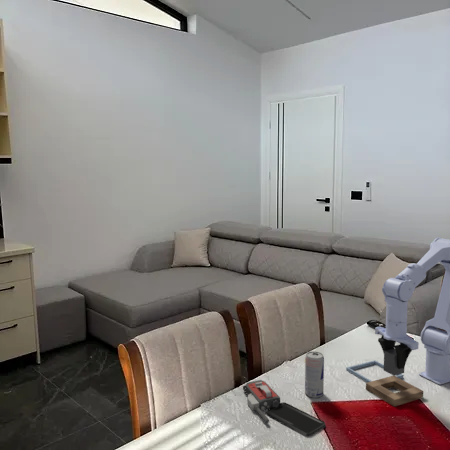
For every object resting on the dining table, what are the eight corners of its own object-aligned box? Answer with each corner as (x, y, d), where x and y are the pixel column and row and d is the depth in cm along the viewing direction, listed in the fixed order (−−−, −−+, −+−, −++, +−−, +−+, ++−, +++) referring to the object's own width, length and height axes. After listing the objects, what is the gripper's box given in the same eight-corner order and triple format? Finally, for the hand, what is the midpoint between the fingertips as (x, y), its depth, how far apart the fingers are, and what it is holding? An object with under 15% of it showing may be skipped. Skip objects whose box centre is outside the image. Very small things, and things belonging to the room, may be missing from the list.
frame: (374, 363, 154) (374, 360, 154) (403, 377, 143) (403, 374, 143) (346, 370, 149) (346, 367, 149) (373, 386, 138) (373, 383, 137)
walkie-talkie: (236, 392, 136) (264, 427, 117) (236, 378, 135) (264, 411, 116) (263, 387, 138) (294, 420, 120) (263, 373, 138) (294, 405, 119)
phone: (283, 401, 128) (327, 423, 117) (283, 405, 128) (327, 427, 117) (264, 411, 123) (307, 435, 112) (264, 415, 123) (307, 439, 112)
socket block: (393, 381, 140) (393, 375, 140) (423, 397, 130) (423, 391, 130) (365, 389, 136) (365, 383, 135) (394, 406, 126) (394, 399, 125)
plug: (393, 367, 135) (394, 348, 134) (404, 372, 131) (404, 353, 130) (383, 370, 133) (384, 350, 132) (393, 375, 129) (394, 355, 129)
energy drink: (325, 391, 135) (325, 352, 133) (321, 399, 130) (321, 359, 128) (307, 388, 137) (307, 350, 136) (302, 396, 132) (303, 356, 131)
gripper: (367, 314, 135) (366, 358, 137) (406, 329, 122) (404, 377, 124) (385, 311, 138) (384, 353, 140) (424, 325, 125) (422, 372, 127)
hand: (394, 364), depth 132 cm, fingers closed on plug, 4 cm apart
